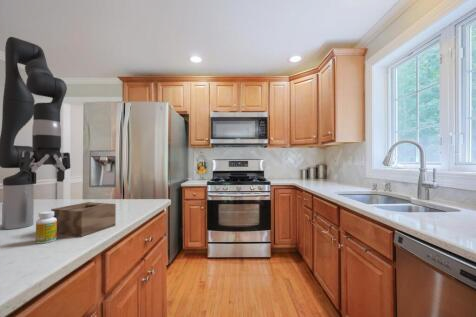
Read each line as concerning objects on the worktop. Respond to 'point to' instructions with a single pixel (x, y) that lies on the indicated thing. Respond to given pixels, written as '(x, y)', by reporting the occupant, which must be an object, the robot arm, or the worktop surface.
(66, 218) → the socket block
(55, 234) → the supplement bottle
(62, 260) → the worktop surface
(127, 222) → the worktop surface
